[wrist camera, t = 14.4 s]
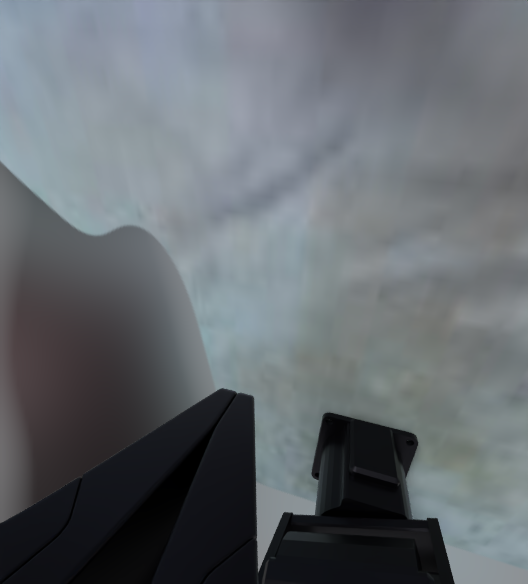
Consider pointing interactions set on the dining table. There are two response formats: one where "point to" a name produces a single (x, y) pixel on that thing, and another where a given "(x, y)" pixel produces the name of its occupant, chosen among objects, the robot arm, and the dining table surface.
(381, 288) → the dining table surface
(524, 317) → the dining table surface
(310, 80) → the dining table surface
